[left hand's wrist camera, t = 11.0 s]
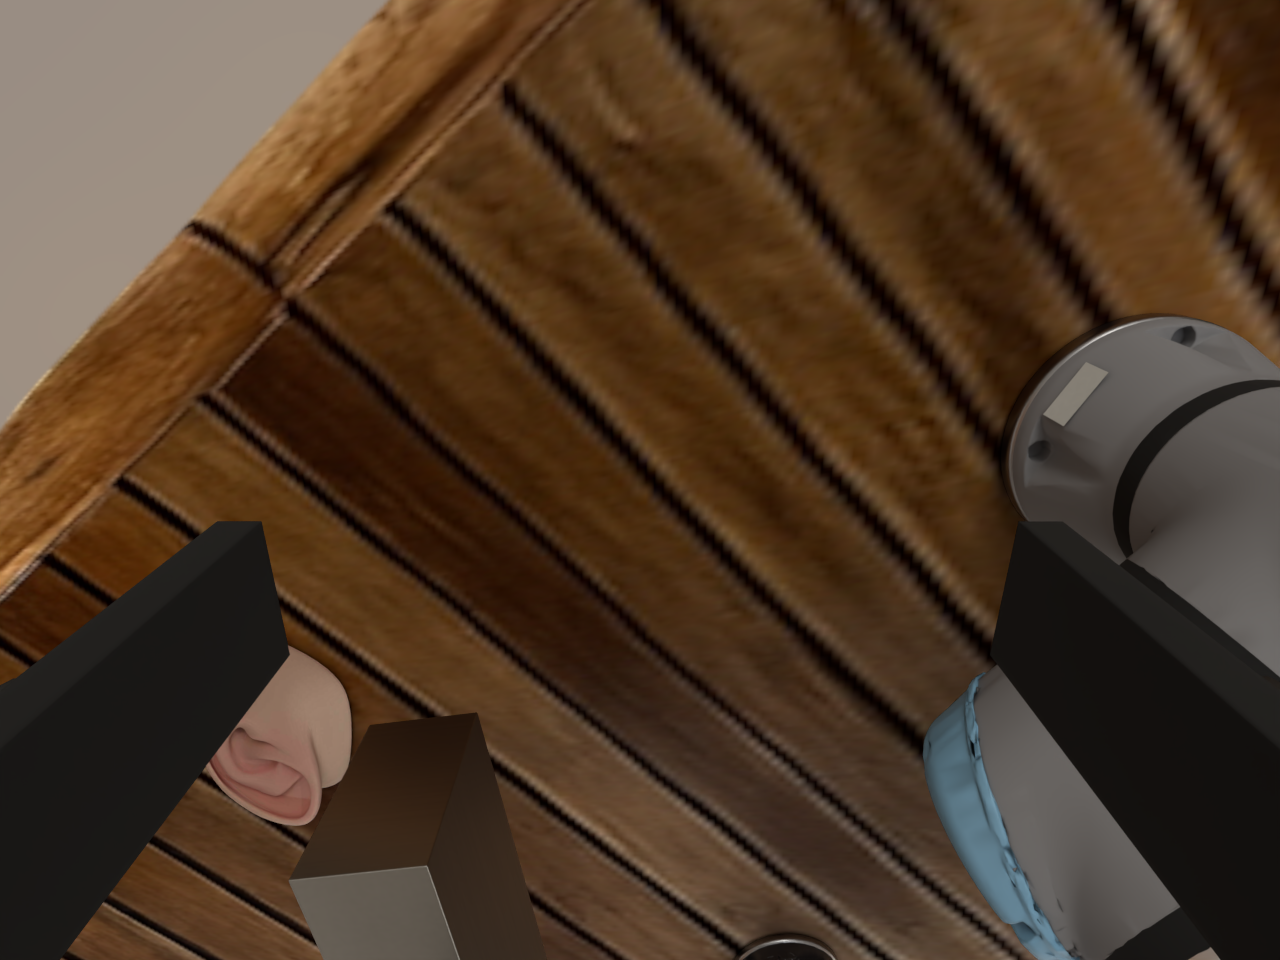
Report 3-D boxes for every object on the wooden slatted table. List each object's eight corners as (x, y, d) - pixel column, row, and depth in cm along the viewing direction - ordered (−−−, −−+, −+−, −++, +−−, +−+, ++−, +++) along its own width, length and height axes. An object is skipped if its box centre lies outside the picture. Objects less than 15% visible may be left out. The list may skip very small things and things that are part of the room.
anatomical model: (171, 653, 46) (350, 698, 47) (205, 619, 50) (371, 661, 51) (156, 804, 51) (320, 841, 52) (189, 762, 54) (341, 798, 56)
